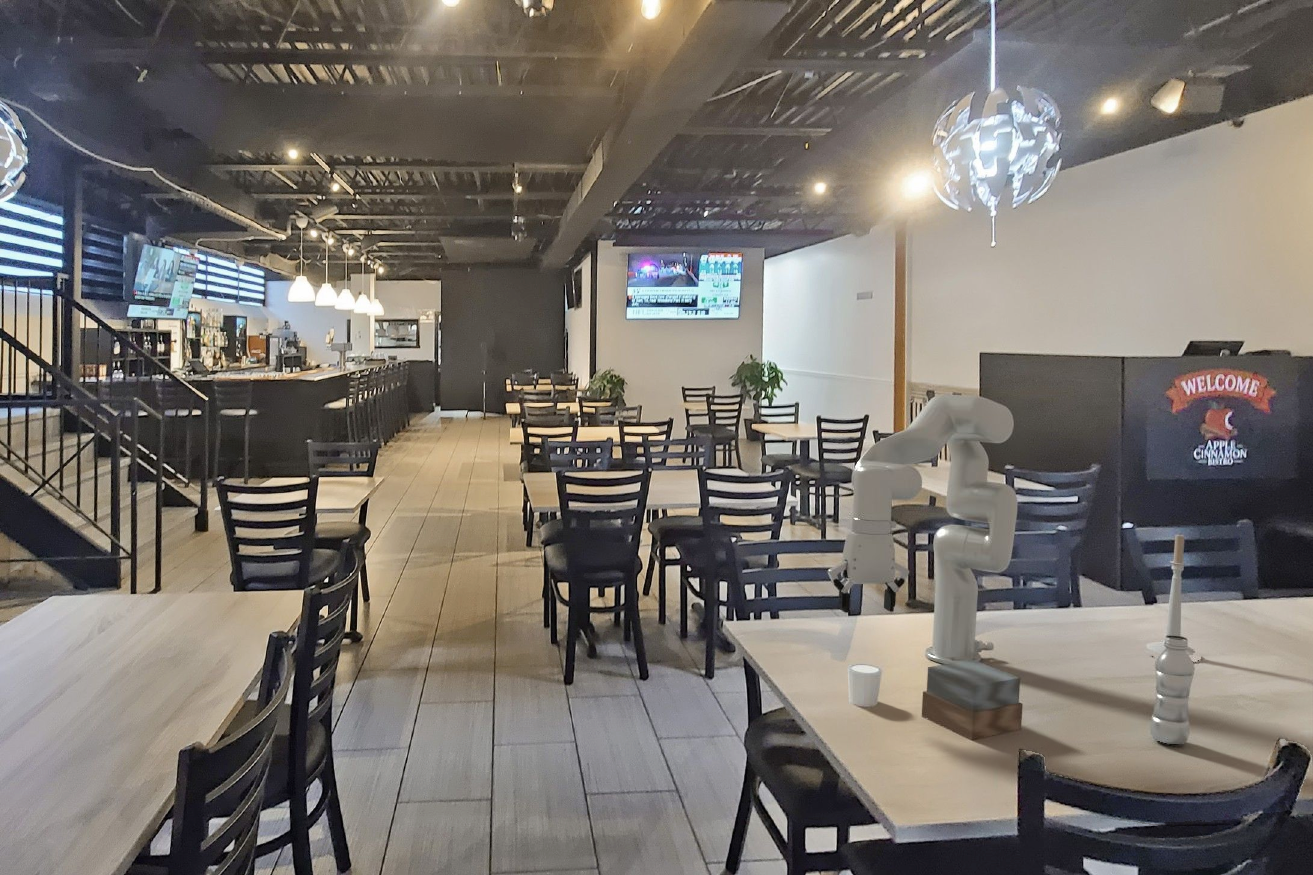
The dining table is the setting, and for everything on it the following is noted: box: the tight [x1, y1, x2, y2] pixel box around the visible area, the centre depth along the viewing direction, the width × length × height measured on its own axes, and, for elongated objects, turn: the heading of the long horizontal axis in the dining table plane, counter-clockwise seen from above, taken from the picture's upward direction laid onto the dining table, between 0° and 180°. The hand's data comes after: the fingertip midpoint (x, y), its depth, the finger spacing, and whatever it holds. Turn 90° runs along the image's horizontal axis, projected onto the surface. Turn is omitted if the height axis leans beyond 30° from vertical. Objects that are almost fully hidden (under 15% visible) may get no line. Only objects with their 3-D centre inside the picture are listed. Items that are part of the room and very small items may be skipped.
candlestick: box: [1145, 534, 1196, 655], centre depth 237 cm, size 13×13×30 cm
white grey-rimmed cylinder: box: [847, 663, 883, 708], centre depth 199 cm, size 7×7×7 cm
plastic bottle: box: [1149, 635, 1196, 745], centre depth 181 cm, size 6×7×20 cm
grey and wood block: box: [921, 660, 1024, 741], centre depth 189 cm, size 13×13×10 cm
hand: (866, 610), depth 198 cm, fingers open, 9 cm apart
